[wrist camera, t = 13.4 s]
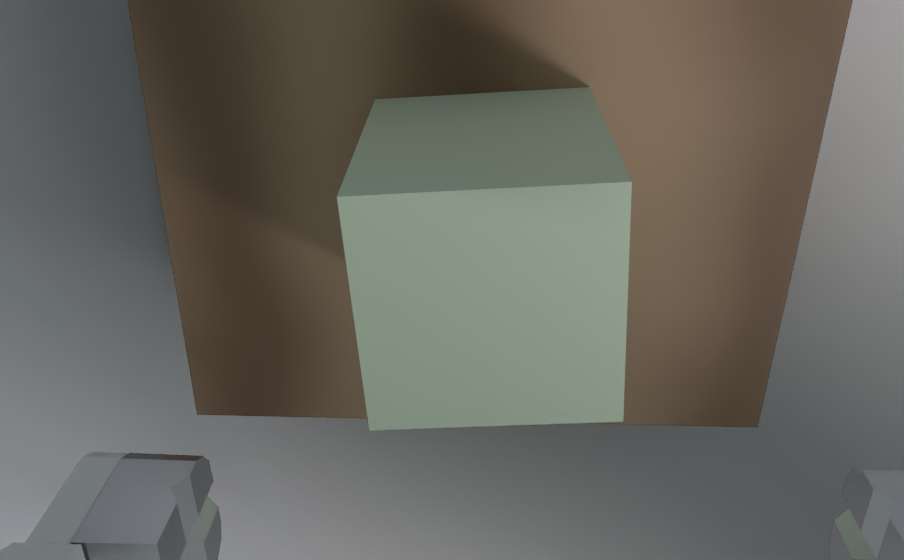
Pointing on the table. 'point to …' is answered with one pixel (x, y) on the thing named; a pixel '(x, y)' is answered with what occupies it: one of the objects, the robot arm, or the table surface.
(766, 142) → the walnut block
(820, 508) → the table surface
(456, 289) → the sage block
